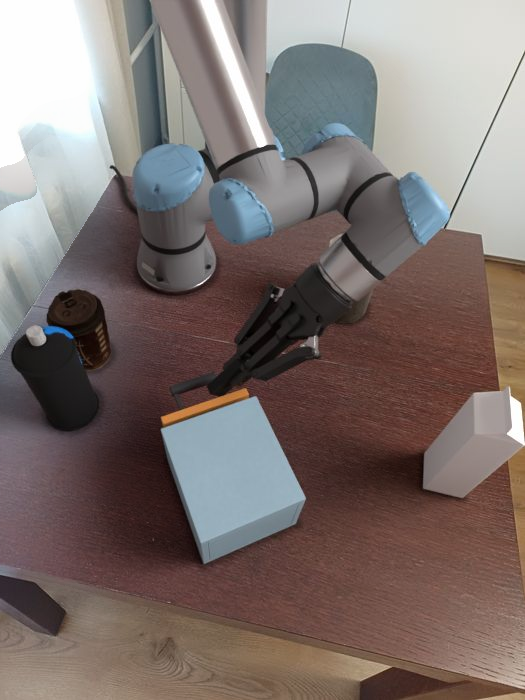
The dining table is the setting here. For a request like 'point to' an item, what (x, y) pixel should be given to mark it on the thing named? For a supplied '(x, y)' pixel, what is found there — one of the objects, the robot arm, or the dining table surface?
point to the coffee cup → (82, 325)
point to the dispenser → (232, 477)
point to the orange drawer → (202, 407)
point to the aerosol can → (56, 376)
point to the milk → (474, 443)
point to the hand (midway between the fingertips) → (214, 391)
